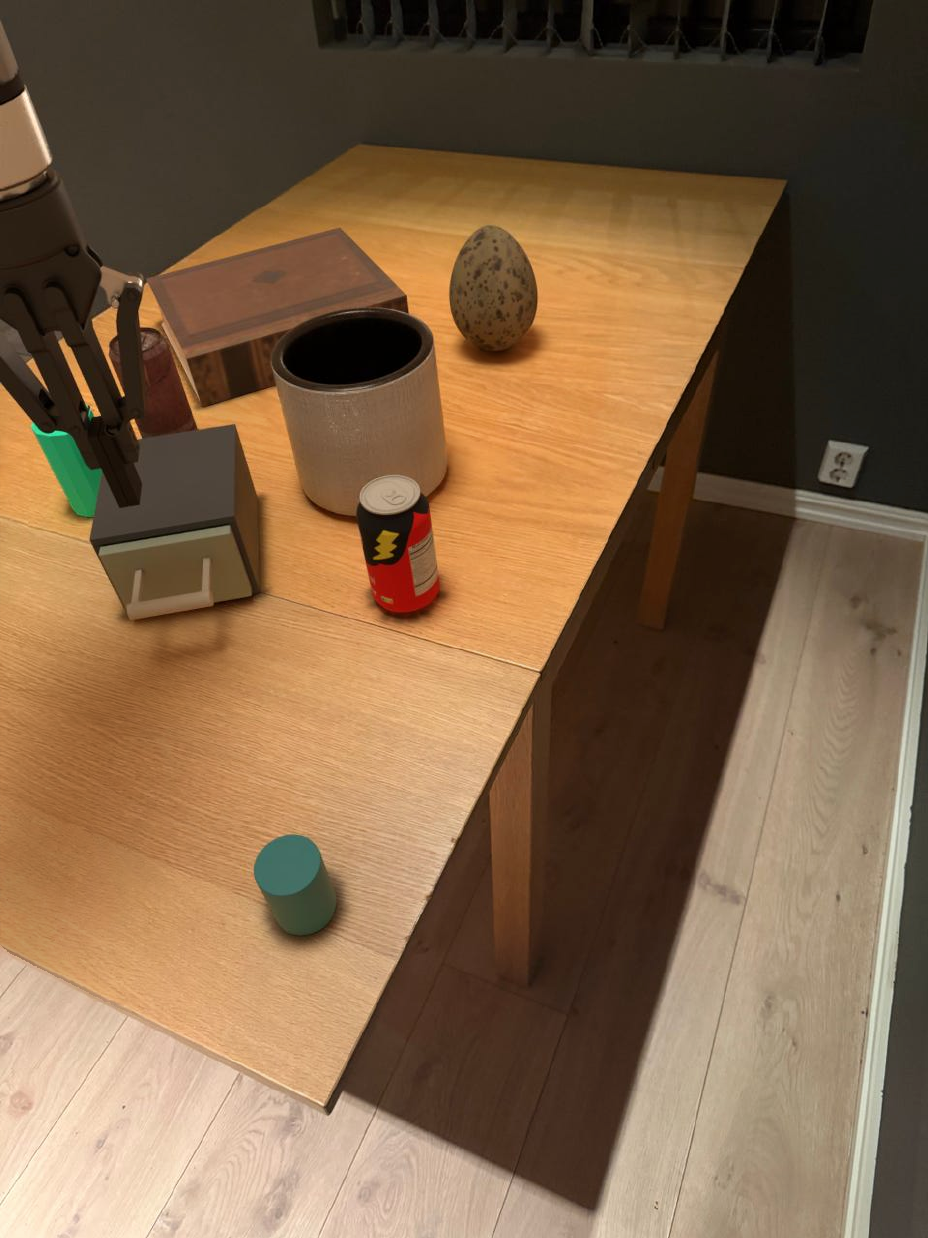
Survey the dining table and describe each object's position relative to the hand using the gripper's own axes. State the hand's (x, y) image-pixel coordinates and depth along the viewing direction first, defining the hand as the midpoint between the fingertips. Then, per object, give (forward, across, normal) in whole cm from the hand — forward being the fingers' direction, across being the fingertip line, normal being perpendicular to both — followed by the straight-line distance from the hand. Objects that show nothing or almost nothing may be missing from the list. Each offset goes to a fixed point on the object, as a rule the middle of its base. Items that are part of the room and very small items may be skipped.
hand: (130, 495), depth 69 cm
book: (+17, -10, -54) cm, 58 cm away
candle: (+17, +11, -24) cm, 31 cm away
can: (+17, +3, -30) cm, 35 cm away
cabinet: (+16, 0, -12) cm, 20 cm away
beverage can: (+17, -20, 0) cm, 26 cm away
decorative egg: (+17, -37, -42) cm, 59 cm away
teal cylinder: (+16, -9, +28) cm, 34 cm away
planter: (+17, -19, -20) cm, 32 cm away
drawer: (+16, 0, -7) cm, 17 cm away
